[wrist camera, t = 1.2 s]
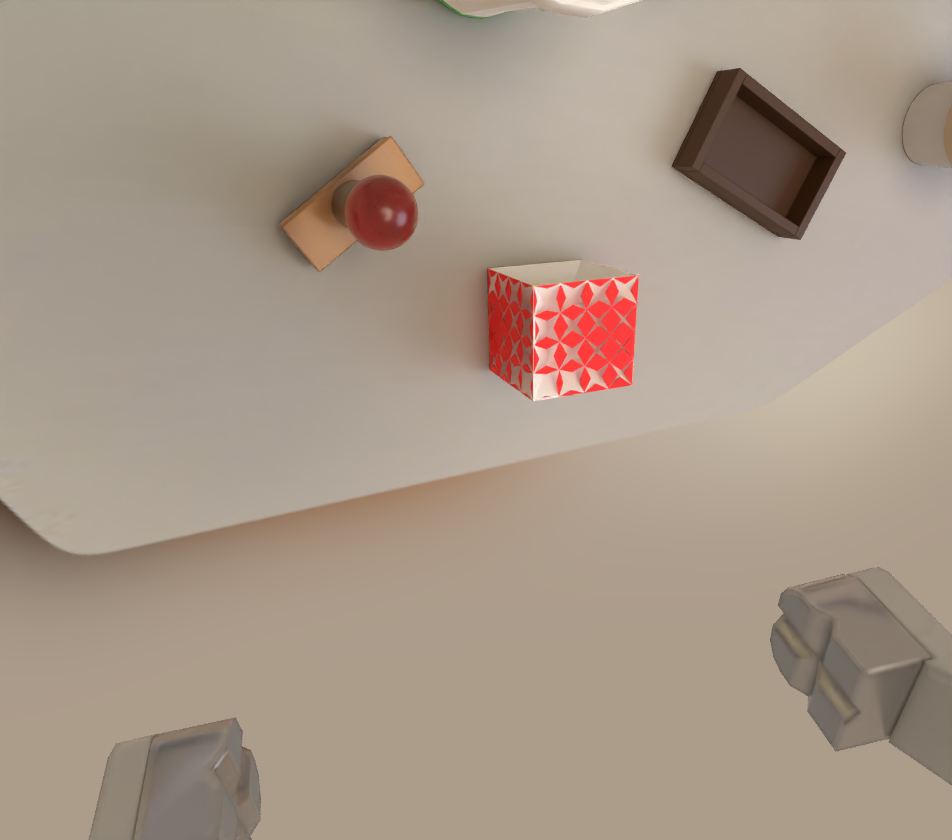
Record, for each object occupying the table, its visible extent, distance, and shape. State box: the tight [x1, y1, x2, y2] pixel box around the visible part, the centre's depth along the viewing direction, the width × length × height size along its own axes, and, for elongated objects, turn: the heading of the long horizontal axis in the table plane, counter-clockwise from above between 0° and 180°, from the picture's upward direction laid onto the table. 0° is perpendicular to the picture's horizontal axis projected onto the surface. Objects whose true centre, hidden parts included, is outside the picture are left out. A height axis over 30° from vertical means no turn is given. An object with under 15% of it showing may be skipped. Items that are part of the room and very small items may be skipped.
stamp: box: [279, 136, 424, 272], centre depth 42 cm, size 9×4×12 cm, turn 126°
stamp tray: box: [672, 68, 846, 240], centre depth 56 cm, size 13×8×2 cm, turn 64°
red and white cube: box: [488, 260, 639, 401], centre depth 51 cm, size 8×8×8 cm
